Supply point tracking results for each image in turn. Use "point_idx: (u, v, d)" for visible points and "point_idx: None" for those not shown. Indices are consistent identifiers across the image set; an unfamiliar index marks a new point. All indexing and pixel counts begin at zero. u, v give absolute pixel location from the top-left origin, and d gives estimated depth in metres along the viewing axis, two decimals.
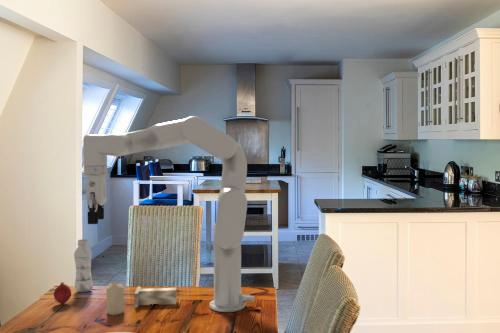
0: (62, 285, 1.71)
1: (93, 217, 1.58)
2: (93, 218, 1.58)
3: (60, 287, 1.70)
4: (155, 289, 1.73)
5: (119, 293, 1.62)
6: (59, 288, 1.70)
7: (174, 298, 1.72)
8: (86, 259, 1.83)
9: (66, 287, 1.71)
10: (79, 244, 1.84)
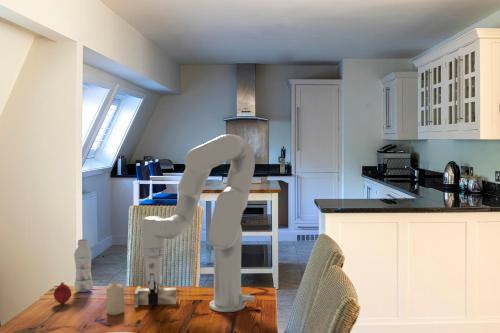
0: (62, 285, 1.71)
1: (154, 298, 1.70)
2: (154, 299, 1.70)
3: (60, 287, 1.70)
4: None
5: (119, 293, 1.62)
6: (59, 288, 1.70)
7: (174, 298, 1.72)
8: (86, 259, 1.83)
9: (66, 287, 1.71)
10: (79, 244, 1.84)
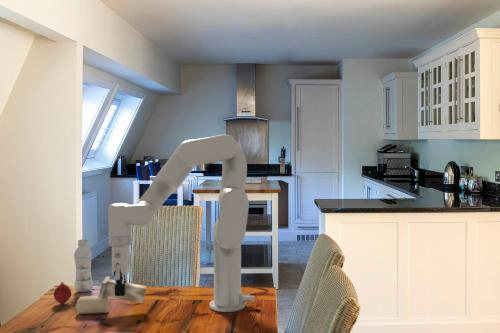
0: (62, 285, 1.71)
1: (120, 289, 1.61)
2: (120, 290, 1.61)
3: (60, 287, 1.70)
4: (124, 283, 1.64)
5: (83, 302, 1.60)
6: (59, 288, 1.70)
7: (141, 297, 1.63)
8: (86, 259, 1.83)
9: (66, 287, 1.71)
10: (79, 244, 1.84)
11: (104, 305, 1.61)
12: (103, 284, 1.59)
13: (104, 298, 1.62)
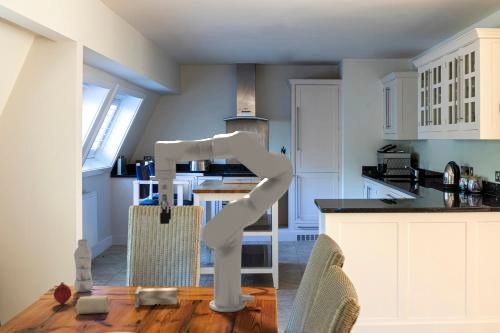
0: (62, 285, 1.71)
1: (165, 217, 1.72)
2: (165, 218, 1.72)
3: (60, 287, 1.70)
4: (155, 289, 1.73)
5: (83, 302, 1.60)
6: (59, 288, 1.70)
7: (174, 298, 1.72)
8: (86, 259, 1.83)
9: (66, 287, 1.71)
10: (79, 244, 1.84)
11: (104, 305, 1.61)
12: (136, 294, 1.68)
13: (104, 298, 1.62)
